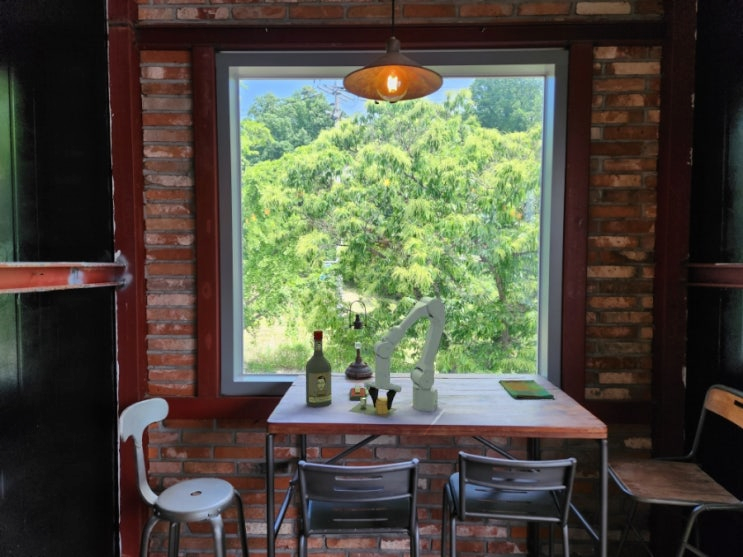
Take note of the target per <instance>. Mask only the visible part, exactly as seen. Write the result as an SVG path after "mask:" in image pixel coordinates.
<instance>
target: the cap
mask: <svg viewBox="0 0 743 557" xmlns="http://www.w3.org/2000/svg"><path fill="white" fill-rule="evenodd" d="M389 412H390V410H388V409H387V397H378V399H376V413H378V414H387V413H389Z"/></svg>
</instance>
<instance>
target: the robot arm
mask: <svg viewBox="0 0 743 557" xmlns="http://www.w3.org/2000/svg"><path fill="white" fill-rule="evenodd" d="M445 309H446V306H445V305H444V303H443V302H442V300H441V299H439V298H435V297H431V296H428V295H424V296H422V297H421V298H420V299H419V301H417V302H416V303H415V304H414V307H413V308H412V309H411V310H410V311H409V313H408V314H407V315H406V316H405V317H404V318H403V320H402V321H401V322H400V323H399V325H393V326H390V327H389V329H388V330H389V331H388V332H387V333H385V335H384V336H382V337H381V338H380V340H377V341H376V342H375V343H374V345H373V347H372V351H373V353H374V355H375V356H374V357H375V358H374V381H371V380H370V381H366V380H365V381H364V382H363V385H364V386H363V388H365V389H367V387H369V390H368V392H369V394H370V395H369V396H370V398H371V400H372V405H374V408H376V399H378V398H379V390H382V391H383V390H385V391H386V393H385V395H386V398H387V409H388V410H390V409H391V408H393V406H392V405H393V402H394V399H395V396H396V395H397V393H401V392H402V385H399V384H394V383H391V356H392V355H393V353H394V349H395V347H396V346H397V345H398V344H399V343H401V342H402V340H403V339H404V338H405V337H406V331H407V330H408V329H410V328H411V327H412V326H413V325H414V324H415V322H417V321H418V320H419V319H420V318H424V317H427V318H428V320H429V321H430V324H429V328H428V332H427V334H426V338H425V341H424V345H423V348H422V351H421V355H420V358H419V360H418V361H417V362H416V363H415V365H414V368H412V370H411V371H410V375H409V376H410V380H411V381H412V408H413V409H415V410H417V411H423V412H424V411H427V412H431V413H432V412H435V410H436V409H437V408H438V407H439V406H438V405H439V404H438V400H439V399H438V398H439V394H438V390H437V388H434V387H433V385H434V384H435V374H436V372H435V367H434V362H435V359H436V356H437V353H438V349H439V345H440V343H441V339H442V335H443V333H444V329H445V326H446V314H445Z"/></svg>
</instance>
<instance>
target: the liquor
mask: <svg viewBox="0 0 743 557" xmlns="http://www.w3.org/2000/svg"><path fill="white" fill-rule="evenodd" d="M323 334H324V333H323V330H314V331H313V341H314V342H313V354H312V356H311V357H310V359H309V360H308V361H307V362H306V364H305V402H306V405H307V406H308V407H309V408H315V409H316V408H323V407H329V406H330V405H332V404H333V403H332V365H331V362H329V361H328V359H327V358H326V357H325V355H324V350H323V340H324V335H323Z"/></svg>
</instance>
